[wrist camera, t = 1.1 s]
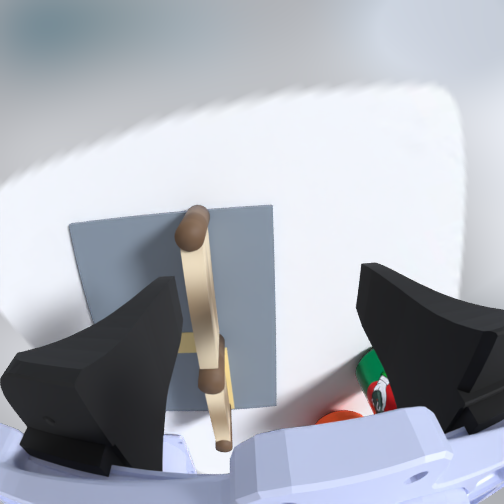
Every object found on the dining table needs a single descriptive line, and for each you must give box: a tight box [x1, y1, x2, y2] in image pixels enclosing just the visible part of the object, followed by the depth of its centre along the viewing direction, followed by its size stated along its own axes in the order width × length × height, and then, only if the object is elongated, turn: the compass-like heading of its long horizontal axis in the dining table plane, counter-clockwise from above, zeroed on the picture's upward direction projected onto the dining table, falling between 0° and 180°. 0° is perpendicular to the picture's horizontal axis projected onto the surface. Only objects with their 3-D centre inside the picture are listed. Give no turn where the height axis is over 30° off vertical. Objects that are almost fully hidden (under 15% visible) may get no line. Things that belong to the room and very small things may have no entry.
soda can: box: [356, 349, 397, 414], centre depth 21 cm, size 5×5×12 cm
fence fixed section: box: [198, 334, 232, 452], centre depth 23 cm, size 9×2×5 cm, turn 3°
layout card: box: [69, 205, 276, 411], centre depth 24 cm, size 19×15×1 cm
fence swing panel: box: [174, 205, 219, 369], centre depth 20 cm, size 10×2×5 cm, turn 3°
